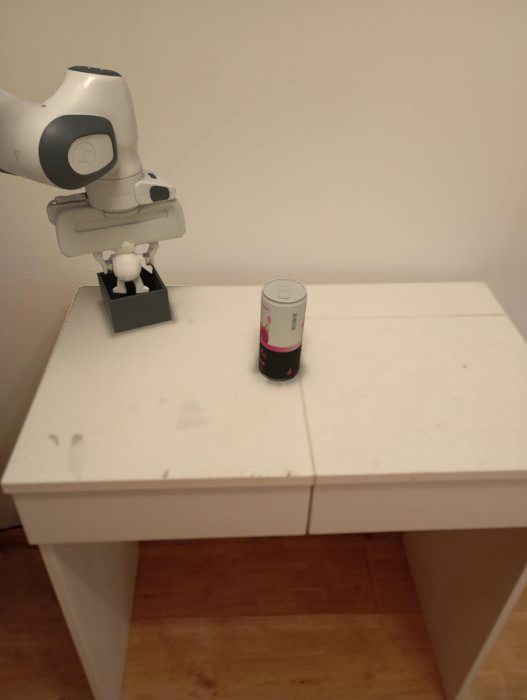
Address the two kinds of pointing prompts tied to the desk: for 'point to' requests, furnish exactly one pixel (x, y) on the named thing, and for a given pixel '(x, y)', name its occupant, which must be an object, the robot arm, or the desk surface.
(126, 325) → the dark grey hollow box
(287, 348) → the beverage can
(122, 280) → the figurine
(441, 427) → the desk surface
